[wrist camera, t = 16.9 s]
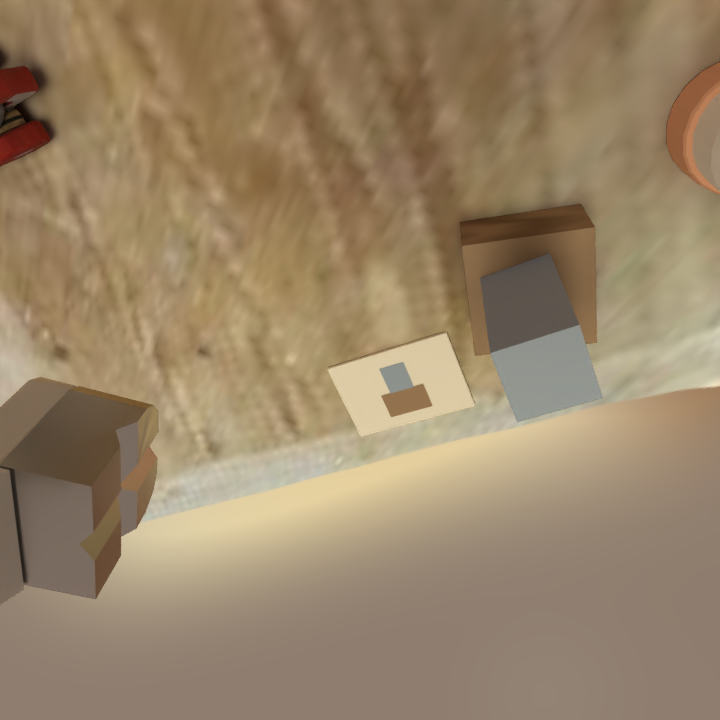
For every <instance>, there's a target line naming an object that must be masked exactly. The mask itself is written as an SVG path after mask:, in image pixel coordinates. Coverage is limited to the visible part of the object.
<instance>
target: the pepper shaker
mask: <svg viewBox="0 0 720 720" xmlns="http://www.w3.org/2000/svg"><path fill="white" fill-rule="evenodd" d="M667 146H668V149H669V151H670V154H671V157H672V159H673V161H674V162H675V163H676V164H677V165H678V166H679V167H680V169H681V170H682V171H683V172H684V173H686V174H687V175H688V176H689V177H691V178H692V179H693V180H694V181H696V182H697V183H698V184H699V185H701V186H703V187H705V188H707V189H709V190H710V191H712V192H714V193H716V194H720V62H719V63H717V64H715V65H713V66H711V67H709V68H707V69H705V70H703V71H702V72H701V73H700V74H699V75H697V76H696V77H695V78H694V79H693V80H692V81H691V82H690V83H689V84H687V85H686V86H685V88H684V89H683V91H682V92H681V94H680V95H679V97H678V98H677V100H676V101H675V103H674V104H673V107H672V110H671V113H670V116H669V119H668V122H667Z"/></svg>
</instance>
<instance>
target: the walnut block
mask: <svg viewBox="0 0 720 720" xmlns="http://www.w3.org/2000/svg"><path fill="white" fill-rule="evenodd" d="M460 225H461V245H462V254H463V262H464V270H465V278H466V286H467V295H468V303H469V311H470V319H471V327H472V335H473V344H474V352H475V356H477V355H486V354H490V349H489V341H488V334H487V326H486V319H485V311H484V304H483V296H482V289H481V281H480V278H482V277H485V276H487V275H490V274H493V273H496V272H499V271H501V270H504V269H507V268H510V267H513V266H515V265H518V264H521V263H524V262H527V261H529V260H532V259H535V258H538V257H541V256H543V255H546V254H549V253H550V255H551V257H552V260H553V262H554V265H555V267H556V269H557V272H558V274H559V277H560V279H561V281H562V284H563V286H564V289H565V291H566V293H567V296H568V298H569V301H570V303H571V305H572V308H573V310H574V313H575V315H576V317H577V320H578V322H579V324H580V328H581V331H582V334H583V337H584V340H585V343H586V344H589V343H597V320H596V259H595V226H594V225H593V223H592V221H591V220H590V218H589V216H588V215H587V213H586V211H585V210H584V208H583V207H582V205H581V204H577V205H571V206H564V207H557V208H551V209H544V210H537V211H531V212H524V213H517V214H511V215H504V216H497V217H491V218H484V219H477V220H470V221H464V222H460Z"/></svg>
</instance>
